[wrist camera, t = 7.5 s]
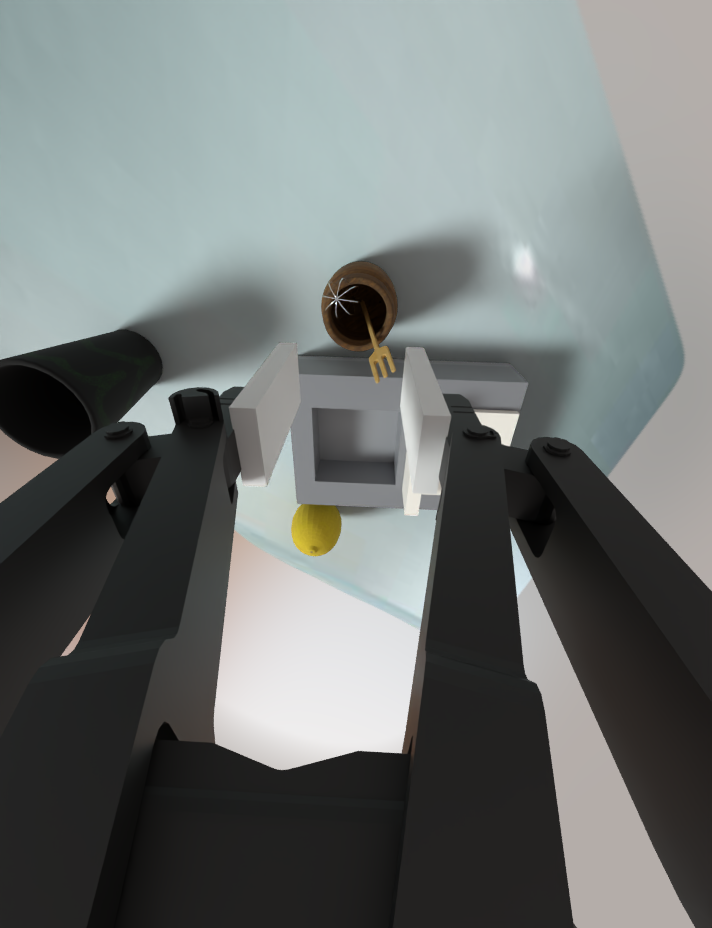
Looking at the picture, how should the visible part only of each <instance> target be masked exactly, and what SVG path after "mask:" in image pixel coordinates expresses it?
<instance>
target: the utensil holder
mask: <svg viewBox="0 0 712 928" xmlns="http://www.w3.org/2000/svg"><path fill="white" fill-rule="evenodd" d="M322 296H323V297H322V304H321V309H322V316H323V321H324V325H325V328H326V330H327V332H328V334H329V335H330V337H331V338H332V339H333V340H334V341H335V342H336V343H337V344H338V345H340V346H341V347H343V348H345V349H348V350H351V351H366V350H369V349H372V348H374V349H375V351H374V352H373V354H372V355H371V356H370V357H369V362H370V365H371V369H372V372H373V376H374V379H375V382H376V383H379V382H380V379H379V375H378V371H377V368H376V364H377V363H378V362H379V365H380V368H381V371H382V374H383V377H384V378H386V377H387V376H388V374H387V370H386V367H385V364H384V360H383V359H384V358H385V357H386V358H387V360H388V363H389V366H390V369H391V372H395V371H396V368H395V365H394V362H393V359H392V356H391V353H390V350H389V348H388V347H387V346H383V347H380V348H379V344H380V343H381V342H382V341H383V340H384V339H385V338H386V337H387V335H388V334H389V332H390V330H391V329H392V327H393V325H394V322H395V319H396V316H397V308H398V304H397V296H396V292H395V289H394V286H393V283H392V281H391V279H390V278H389V276H388V275H387V274H386V273H385V272H384V271H383V270H382V269H381V268H380V267H378V266H377V265H375V264H372V263H369V262H364V261H358V262H352V263H349V264H347V265H345V266H343V267H342V268H340V269H339V270H338V271H337V272H336V273H335V274H334V275H333V276H332V278H331V279H330V280H329V282H328V284H327V286H326V288H325V290H324V293H323V295H322Z"/></svg>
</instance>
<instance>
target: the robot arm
mask: <svg viewBox="0 0 712 928" xmlns="http://www.w3.org/2000/svg"><path fill="white" fill-rule="evenodd" d="M169 402H170V406H171V409H172V413H173V416H174V420H175V423H176V425H175V428H174V430H173V432H172V434H165V435H157V436H148V434H147V431H146V428H145V426H144V425H143V424H141V423H137V422H124V421H122V422H118V423H117V422H116V423H112V424H110V425H108V426H106V427H103V428H101V429H99V430H97V431H96V432H94V433H93V434H92V435H90V436H89V437H88V438H86V439H85V440H84V441H82V442H81V443H80V444H78V445H77V446H76V447H74V448H73V449H72V450H70V451H69V452H68V453H66V454H65V455H64V456H62V457H61V458H60V459H58V460H57V461H56V462H54V463H53V464H52V465H50V466H49V467H48V468H46V469H45V470H44V471H42V472H41V473H40V474H38V475H37V476H36V477H34V478H33V479H32V480H30V481H29V482H28V483H26V484H25V485H24V486H22V487H21V488H20V489H18V490H17V491H16V492H15V493H13V494H12V495H11V496H9V497H8V498H7V499H5V500H4V501H3V502H1V503H0V928H577V927H576V926H575V925H574V923H573V918H572V910H571V903H570V896H569V888H568V881H567V873H566V866H565V858H564V851H563V843H562V836H561V828H560V822H559V813H558V806H557V799H556V791H555V784H554V777H553V769H552V762H551V754H550V747H549V739H548V731H547V724H546V716H545V710H544V706H543V701H542V696H541V693H540V691H539V689H538V686H537V684H536V683H534V682H532V681H529V680H528V679H527V677H526V675H525V670H524V665H523V655H522V645H521V636H520V625H519V615H518V604H517V594H516V584H515V574H514V564H513V554H512V544H511V534H510V529H511V531H512V534H513V536H514V538H515V540H516V543H517V545H518V547H519V549H520V551H521V554H522V556H523V558H524V560H525V562H526V565H527V567H528V569H529V571H530V574H531V576H532V578H533V580H534V582H535V585H536V587H537V589H538V591H539V593H540V596H541V598H542V600H543V602H544V605H545V607H546V609H547V611H548V614H549V616H550V618H551V620H552V622H553V625H554V627H555V629H556V631H557V634H558V636H559V638H560V640H561V642H562V645H563V647H564V649H565V651H566V653H567V656H568V658H569V660H570V662H571V665H572V667H573V669H574V671H575V673H576V675H577V678H578V680H579V682H580V684H581V687H582V689H583V691H584V693H585V696H586V698H587V700H588V702H589V704H590V707H591V709H592V711H593V713H594V716H595V718H596V720H597V722H598V725H599V727H600V729H601V731H602V733H603V736H604V738H605V740H606V742H607V744H608V746H609V749H610V751H611V753H612V756H613V758H614V760H615V762H616V764H617V767H618V769H619V771H620V773H621V776H622V778H623V780H624V782H625V784H626V787H627V789H628V791H629V793H630V795H631V798H632V800H633V802H634V804H635V807H636V809H637V811H638V813H639V816H640V818H641V820H642V822H643V824H644V826H645V829H646V831H647V833H648V836H649V837H650V840H651V842H652V844H653V847H654V849H655V851H656V853H657V855H658V857H659V859H660V861H661V863H662V865H663V867H664V869H665V871H666V873H667V875H668V877H669V879H670V881H671V883H672V885H673V887H674V889H675V891H676V893H677V895H678V897H679V900H680V901H681V903H682V905H683V907H684V908H685V910H686V912H687V913H688V915H689V917H690V919H691V921H692V923H693V924H694V926H695V928H712V591H711V590H710V589H709V588H708V587H707V586H706V585H705V584H704V583H703V582H702V581H701V579H700V578H699V577H698V576H697V575H696V574H695V573H694V572H693V571H692V570H691V569H690V567H689V566H688V565H687V564H686V563H685V562H684V561H683V560H682V559H681V558H680V556H678V554H677V553H676V552H675V551H674V550H673V549H672V548H671V547H670V546H669V544H667V542H666V541H665V540H664V539H663V538H662V537H661V536H660V535H659V534H658V533H657V532H656V530H655V529H654V528H653V527H652V526H651V525H650V524H649V523H648V522H647V521H646V519H645V518H644V517H643V516H642V515H641V514H640V513H639V512H638V511H637V510H636V509H635V507H634V506H633V505H632V504H631V503H630V502H629V501H628V500H627V499H626V498H625V497H624V496H623V494H622V493H621V492H620V491H619V490H618V489H617V488H616V487H615V486H614V485H613V483H612V482H610V480H609V479H608V478H607V477H606V476H605V475H604V474H603V473H602V471H601V470H600V469H599V468H598V467H597V466H596V465H595V464H594V463H593V462H592V461H591V459H590V458H589V457H588V456H587V455H586V454H585V453H584V452H583V451H582V450H581V449H580V448H579V447H577V446H576V445H574V444H572V443H570V442H568V441H567V440H564V439H562V440H561V438H556V437H555V438H550V437H542V438H537V439H534V440H533V441H532V442H531V444H530V447H529V450H524V449H519V448H514V447H510V446H506V445H503V444H501V437H500V435H499V433H498V432H497V431H495V430H494V429H492V428H490V427H487V426H485V425H481V423H480V421H479V419H478V417H477V415H476V413H475V411H474V409H473V408H472V406H471V404H470V402H469V400H468V399H466V398H465V397H463V396H462V395H460V394H443V393H442V392H441V389H440V387H439V384H438V382H437V379H436V377H435V374H434V372H433V369H432V367H431V364H430V362H429V359H428V357H427V354H426V352H425V349H424V348H422V347H406V351H405V361H404V371H403V382H402V392H401V402H400V409H401V416H402V423H403V430H404V436H405V443H406V450H407V457H408V464H409V471H410V478H411V485H412V492H413V493H419V494H437V490H438V485H439V481H440V485H441V488H442V489H441V494H440V500H439V505H438V510H437V515H436V526H435V533H434V540H433V547H432V554H431V561H430V568H429V574H428V581H427V588H426V595H425V602H424V609H423V616H422V623H421V629H420V636H419V643H418V650H417V657H416V664H415V671H414V677H413V684H412V692H411V698H410V705H409V712H408V720H407V725H406V732H405V738H404V743H403V749H402V754H401V753H382V752H364V751H357V752H353V753H349V754H345V755H342V756H338V757H334V758H330V759H326V760H323V761H319V762H315V763H311V764H308V765H304V766H300V767H296V768H292V769H289V770H277V769H274V768H271V767H269V766H266V765H264V764H262V763H259V762H257V761H255V760H252V759H250V758H247V757H245V756H243V755H240V754H238V753H236V752H233V751H231V750H228V749H226V748H224V747H221V746H219V745H217V744H215V736H214V706H215V698H216V688H217V679H218V670H219V660H220V652H221V643H222V633H223V625H224V616H225V607H226V597H227V589H228V579H229V570H230V561H231V552H232V543H233V533H234V525H235V516H236V507H237V498H238V490H237V485H236V479H237V477H238V475H239V473H240V472H241V477H242V483H243V486H258V487H267V485H268V482H269V480H270V477H271V475H272V472H273V470H274V467H275V465H276V462H277V460H278V457H279V455H280V452H281V450H282V447H283V445H284V442H285V440H286V437H287V435H288V432H289V430H290V427H291V425H292V423H293V420H294V418H295V415H296V413H297V410H298V408H299V405H300V403H301V399H300V384H299V368H298V353H297V343H283V342H279V343H278V345H277V346H276V347H275V349H274V350H273V351H272V352H271V354H270V355H269V356H268V358H267V359H266V360H265V361H264V363H263V364H262V365H261V367H260V368H259V369H258V370H257V372H256V373H255V374H254V376H253V377H252V378H251V379H250V381H249V382H248V383H247V385H246V386H245V387H232V388H230V389H228V390H226V391H224V392H223V393H222V394H221V396H220V397H219V394H218V391H216V390H214V389H211V388H202V387H197V388H188V389H184V390H180V391H178V392H176V393H173V394H172V395H171V396H170V397H169ZM110 487H112V490H113V492H114V494H115V497H116V499H115V500H114V502H113V503H111V504H109V503H108V501H107V499H106V495H107V492H108V490H109V488H110ZM89 616H90V618H89V620H88V622H87V625H86V627H85V629H84V631H83V633H82V636H81V638H80V640H79V642H78V644H77V646H76V647H75V649H74V650H73V651H72V652H71V653H70V654H69V655H67V656H61V655H62V653H63V652H64V651H65V649H66V647H67V646H68V645H69V644H70V642H71V641H72V639H73V638H74V637H75V635H76V634H77V633H78V631H79V630H80V628H81V627H82V626H83V624H84V623H85V621H86V620H87V619H88V617H89ZM60 656H61V657H60Z"/></svg>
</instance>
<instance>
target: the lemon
mask: <svg viewBox="0 0 712 928" xmlns="http://www.w3.org/2000/svg"><path fill="white" fill-rule="evenodd" d="M291 531H292V538H293V542H294V543H295V545H296V547H297V548H298V549H299V550H300V551H301V552H303V553H304V554H307V555H310V556H321V555H323V554H326V553H327V552H329V551H330V550H331V549H332V548H333V547H334V546H335V544H336V543H337V540H338V538H339V536H340V532H341V517H340V513H339V511H338V509H337V508H336V506H335V505H314V504H302V505H301V506H300V507H299V508H298V509H297V511H296V513H295V515H294V517H293V521H292V528H291Z"/></svg>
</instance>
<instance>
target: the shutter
mask: <svg viewBox="0 0 712 928" xmlns="http://www.w3.org/2000/svg"><path fill="white" fill-rule="evenodd" d="M474 411H475V413H476V415H477V417H478V419H479V421H480V423H481V425H485V426H487V427H490V428H492V429H494V430H495V431H497V432H498V433H499V435H500V437H501V444H503V445H506V446H510V444H511V441H512V437H513V434H514V431H515V427H516V424H517V421H518V417H519V413H518V411H504V410H479V409H474ZM441 489H442V488H441V485H440V481H439V485H438V490H437V494H425V495H440V494H441ZM402 494H403V504H404V513H405V515H409V516H418V512H419V506H420V500H421V494H419V493H413V492H412V485H411V478H410V471H409V464H408V457H407V452H406V461H405V469H404V477H403V486H402Z"/></svg>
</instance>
